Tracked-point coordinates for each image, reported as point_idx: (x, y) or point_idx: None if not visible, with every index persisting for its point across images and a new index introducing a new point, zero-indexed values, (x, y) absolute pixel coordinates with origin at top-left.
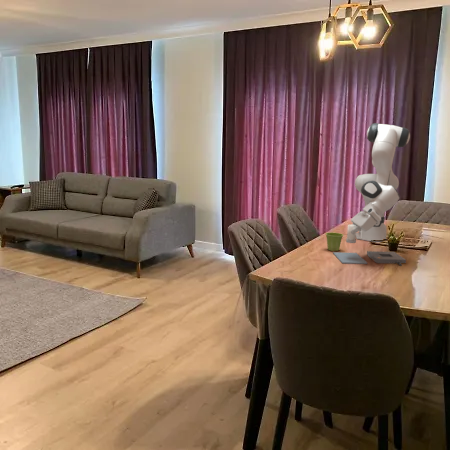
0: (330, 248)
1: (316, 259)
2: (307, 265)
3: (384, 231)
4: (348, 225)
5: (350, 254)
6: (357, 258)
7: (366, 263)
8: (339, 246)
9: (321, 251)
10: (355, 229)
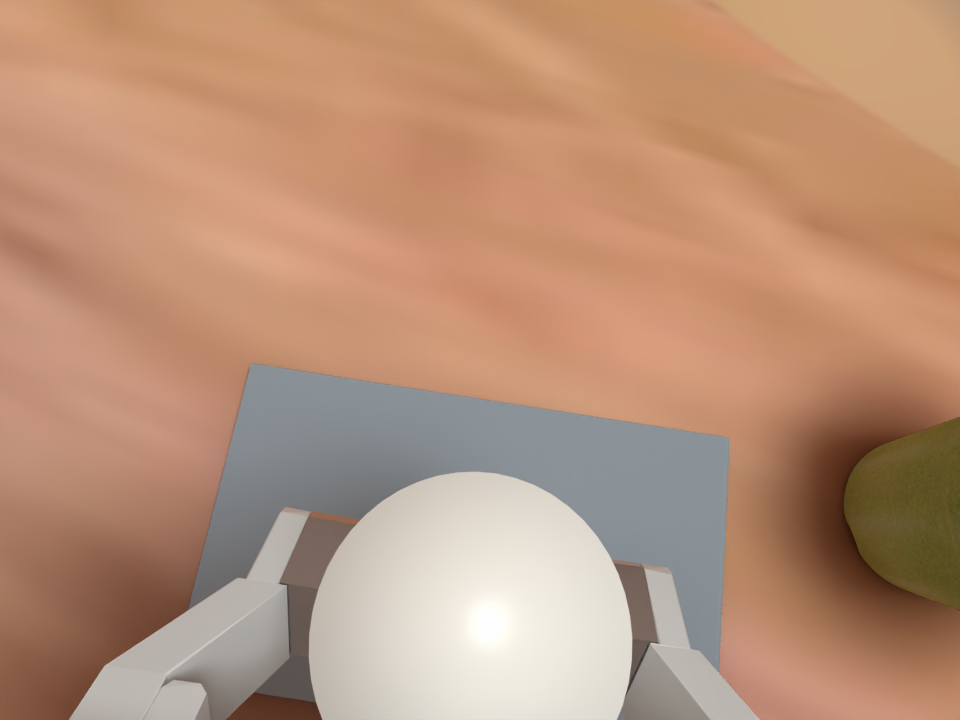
0: (877, 452)
1: (459, 163)
2: (249, 16)
3: None
4: (452, 475)
5: None
6: None
7: None
8: (909, 582)
9: (821, 338)
10: (190, 627)
